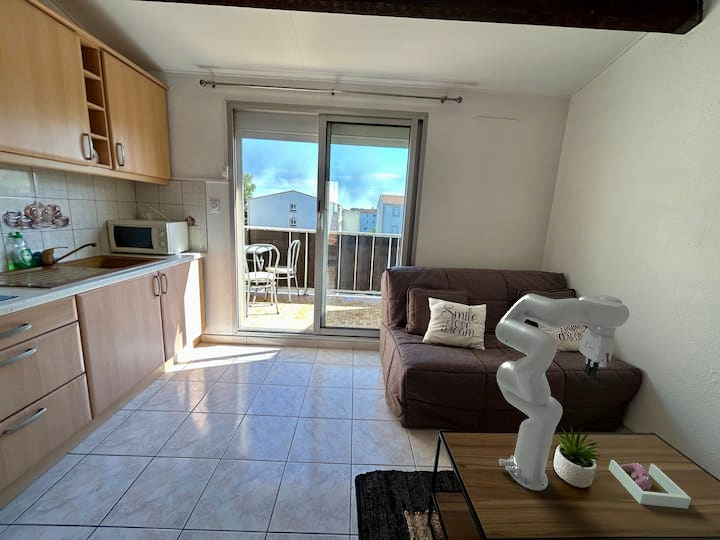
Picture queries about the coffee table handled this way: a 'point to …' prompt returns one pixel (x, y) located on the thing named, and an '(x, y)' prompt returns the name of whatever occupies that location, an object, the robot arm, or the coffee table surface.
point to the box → (653, 498)
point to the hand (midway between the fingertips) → (589, 374)
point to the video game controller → (638, 474)
